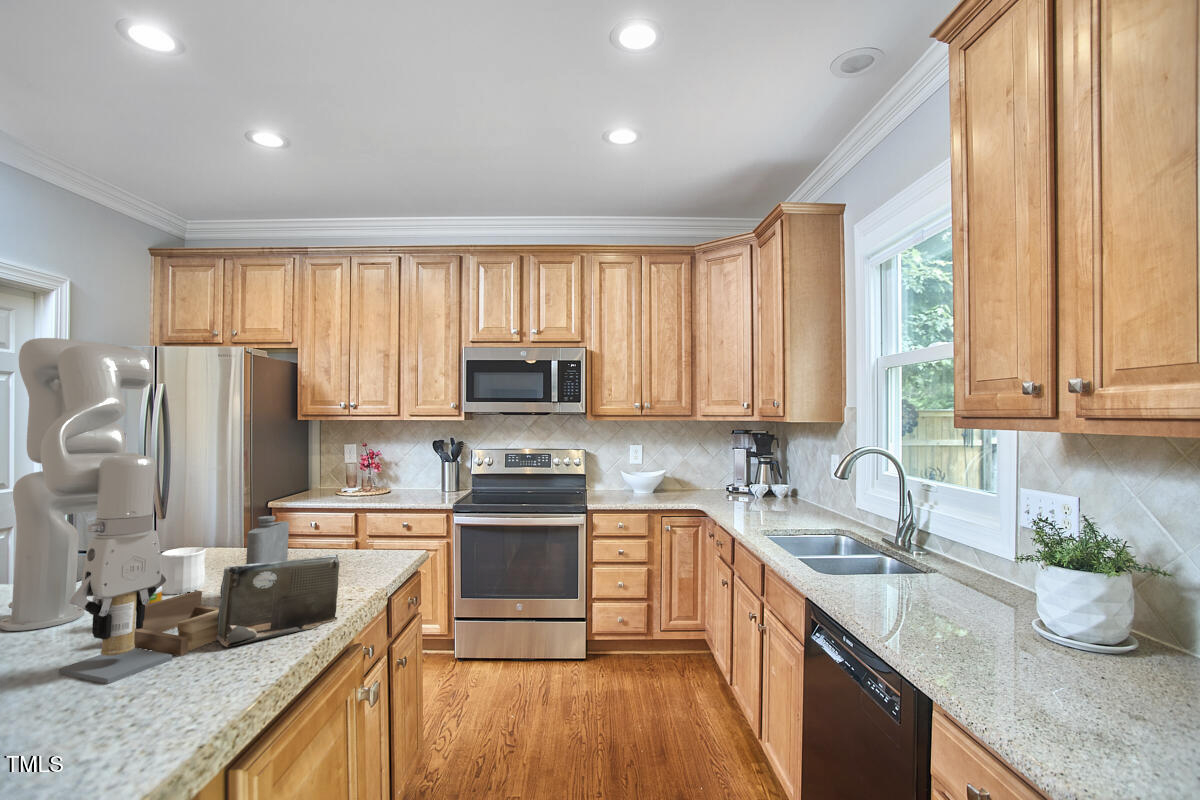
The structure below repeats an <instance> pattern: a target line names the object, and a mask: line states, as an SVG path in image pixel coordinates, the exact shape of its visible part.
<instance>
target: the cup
mask: <svg viewBox="0 0 1200 800" xmlns="http://www.w3.org/2000/svg"><path fill="white" fill-rule="evenodd" d="M206 551H207V550H206V548H205V547H203V546H201V547H199V546H196V547H195V546H194V547H178V548H174V549H169V550H166V551H163V552H161V574H162V575H163V576H164V577H165V578H166V582H165V583H164V584H163V585H161V587H162V593H163V594H162V595H166V594H177V595H179V594H178V593H185V594H186V592H191V591H194V590H197V589H199V590H201V588H203V586H204V584H205V580H206V569H205V568H206V565H205V558H206ZM197 591H198V590H197Z"/></svg>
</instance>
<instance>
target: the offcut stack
mask: <svg viewBox="0 0 1200 800" xmlns="http://www.w3.org/2000/svg"><path fill="white" fill-rule="evenodd" d="M218 612H219V610H216V611H212V612H209V613H206V614H203V615H200V616H197V617H194V618H191V619H188V620H184V621H181V622H178V627H177V630H176V631H177V632H178V633H177V635H179V636H185V637H188V650H187V652H190V651H193V650H195V649H197V648H198V649H199V648H201V647H203V646H206V645H209V644H211V643H214V642H217V641H218V640H217V639H216V636H217V634H218V619H217V616H218ZM216 640H217V641H216ZM213 641H214V642H213ZM208 643H209V644H208ZM205 644H206V645H205ZM192 649H193V650H192ZM189 650H190V651H189Z"/></svg>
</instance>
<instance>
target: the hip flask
mask: <svg viewBox="0 0 1200 800" xmlns="http://www.w3.org/2000/svg"><path fill="white" fill-rule="evenodd" d="M257 521H258V522H259V523H258V527H256V528H254V529H251V530H249V531H248V532H247V536H246V537H247V538H246V539H247V541H246V562H245V563H246V564H245V565H247V564H263V563H272V562H281V561H288V558H289V557H288V554H289V552H288V550H289V548H288V547H289V531H290V530H289V529H290V524H289V523H290V522H289V521H276V516H275V515H264V516H258V517H257Z"/></svg>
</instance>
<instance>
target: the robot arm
mask: <svg viewBox="0 0 1200 800" xmlns="http://www.w3.org/2000/svg"><path fill="white" fill-rule="evenodd" d="M19 349H20V350H19V355H18V368H19V373H20V375H21V379H22V382H23V384H24V386H25V389H26V391H27V395H28V416H27V429H26V430H27V432H26V433H27V434H26V453H27V456H28V458H29V459H30V461H32V462H34V463H36V464H41V468H42V471H36V472H31V473H28V474H25V475H24V476H21V477H20V478H19V479H18V480H16V482H15V483H14V486H13V488H12V489H13V490H12V499H13V505H14V512H15V513H14V515H15V520H16V523H15V524H16V536H15V551H14V553H15V554H14V555H15V556H14V569H13V585H12V597H11V598H12V599H11V600H12V601H11V602H9V603H8V605H7V607H8V608H9V609H11V614H10V616H8V617H6V618H4V619H2V620H1V621H0V630H3V631H6V632H7V631H8V632H21V631H31V630H38V629H43V628H45V629H47V628H49V627H55V626H60V625H62V624H66V623H70V622H73V621H75V620H78V619H80V618H81V617H83V616H84V615H85V611H86V612H88V613H89V614H90V615H92V624H91V625H92V629H91V633H92V635H93V638H95V639H100V640H102V639H104V640H105V639H108V638H109V637H110V636H111V620H112V616H111V615H110V614H108V611H109V607H110V604H111V600H112V597H116V596H120V595H124V594H128V593H132V592H136V591H137V599H136V628H135V629H140V628H142V627H143V621H144V617H145V605H146V604H148V602H149V599H150V597H151V596H152V595H153V594H154V593H155V592H156V589H158V588H159V587H160V586H161V585H163V584H164V583H165V582H166V578H165V577H164V576H163V575H162V574H161V554H162V551H161V543H160V538H159V535H158V531H157V530H153V512H154V495H155V494H154V493H155V492H154V491H155V480H156V479H155V477H156V475H155V474H156V463H155V460H154V459H153V458H152V457H151V456H148V455H142V454H140V453H136V452H135V453H134V452H127V436H126V433H125V431H124V429H123V427H122V426H121V425H120V424H118V423H117V421H118V420H121V418H122V417H123V416H125V414H126V410H127V408H126V407H127V406H126V402H125V398H124V395H123V392H122V391H123V389H124V390H142V389H145V388H147V387H148V386H149V385H150V384H151V382H152V379H153V372H154V371H153V366H152V363H151V360H150V359H149V357H148V354H147V355H146V353H145V352H144V351H142V350H140V349H136V348H133V347H130V346H126V345H121V344H113V343H103V342H96V341H95V342H94V341H85V340H77V339H69V338H58V337H57V338H56V337H39V338H32V339H29V340H27V341H25V342H24V343H23V344H22V345H21V346H20V348H19ZM94 512H96V518H95V520H94V523H91V524H89V525H88V526H87V532H88V533H94V535H95V536H92V537H91V538H90V541H89V543H88V546H87V550H86V554H85V558H84V563H83V568H82V575H81V585H80V586H79V588H78V589H77V576H78V575H77V574H78V560H79V559H78V557H79V542H80V535H79V532H78V530H77V528H76V527H75V526H74V525H73V524H72V523H70V522H69V521H68V520H67V519H65V516H67V515H73V514H82V513H94ZM87 597H92V600H90V599H88V598H87Z"/></svg>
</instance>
